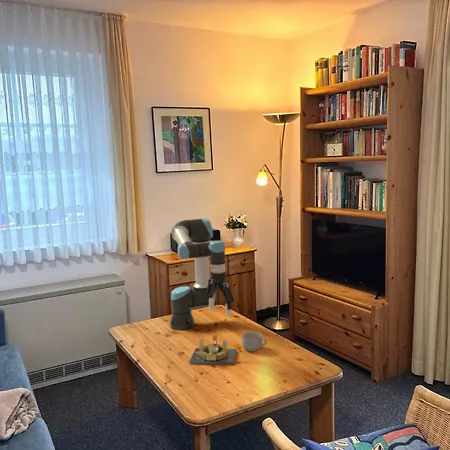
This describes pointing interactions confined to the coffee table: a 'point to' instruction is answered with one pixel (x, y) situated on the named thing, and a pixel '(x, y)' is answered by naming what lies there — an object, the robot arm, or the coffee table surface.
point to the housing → (225, 361)
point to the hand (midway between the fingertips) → (220, 312)
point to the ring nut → (209, 348)
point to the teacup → (252, 341)
